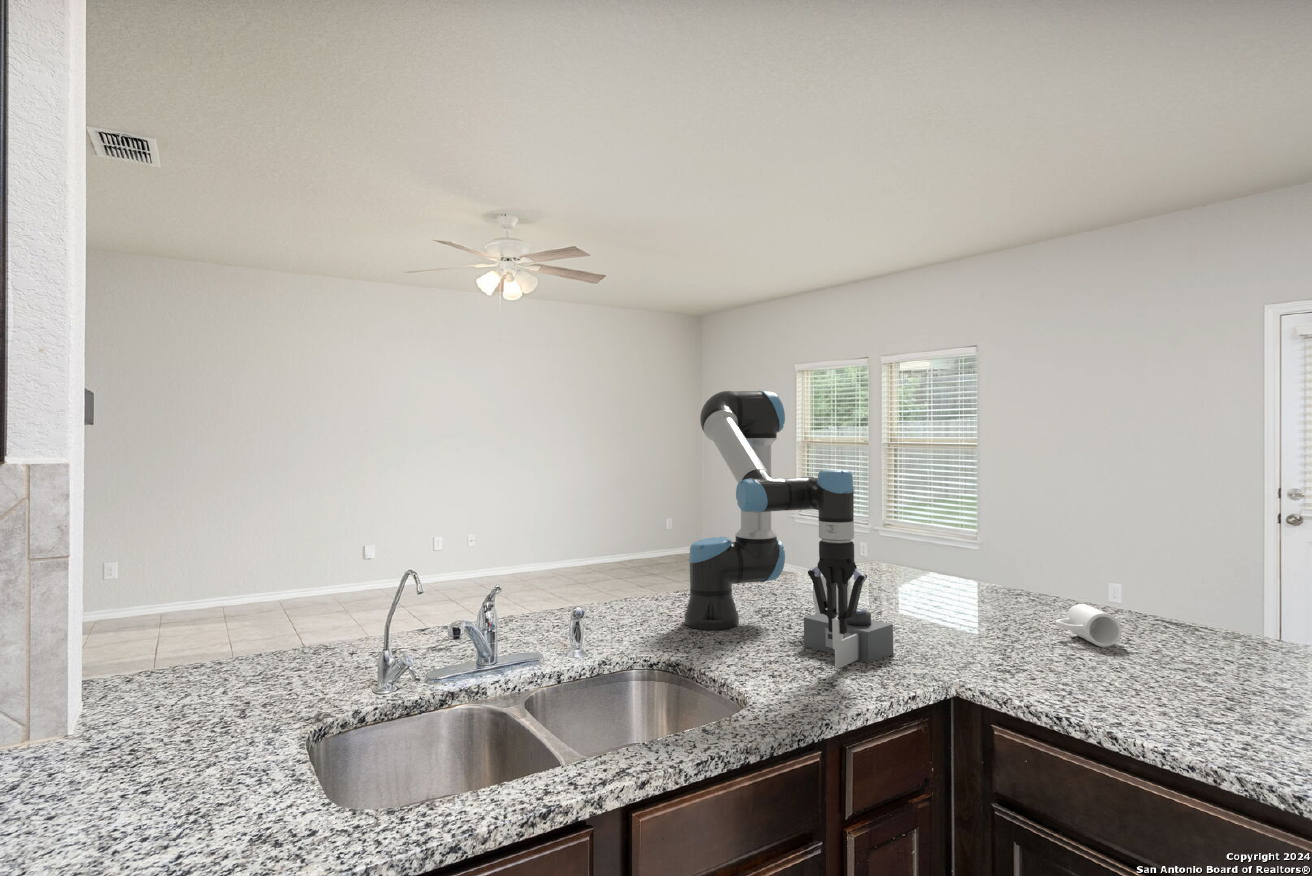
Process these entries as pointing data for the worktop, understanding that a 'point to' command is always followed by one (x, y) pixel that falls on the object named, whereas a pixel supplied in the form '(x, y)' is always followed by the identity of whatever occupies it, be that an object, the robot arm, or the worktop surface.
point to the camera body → (871, 634)
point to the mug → (1092, 625)
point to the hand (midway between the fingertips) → (838, 647)
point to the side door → (846, 650)
